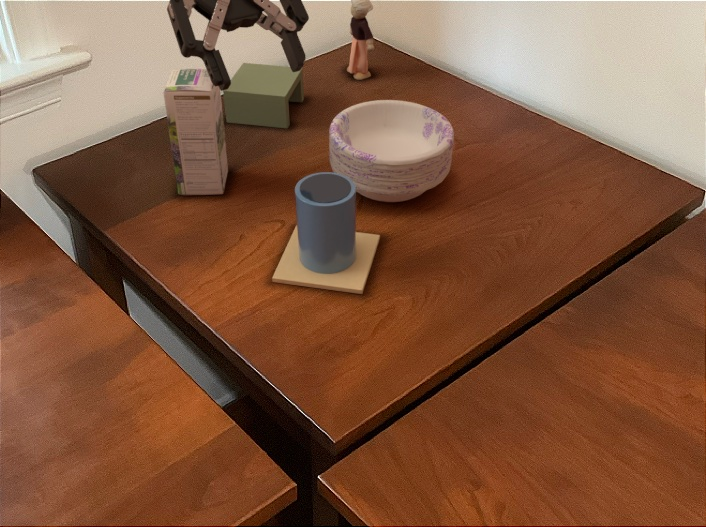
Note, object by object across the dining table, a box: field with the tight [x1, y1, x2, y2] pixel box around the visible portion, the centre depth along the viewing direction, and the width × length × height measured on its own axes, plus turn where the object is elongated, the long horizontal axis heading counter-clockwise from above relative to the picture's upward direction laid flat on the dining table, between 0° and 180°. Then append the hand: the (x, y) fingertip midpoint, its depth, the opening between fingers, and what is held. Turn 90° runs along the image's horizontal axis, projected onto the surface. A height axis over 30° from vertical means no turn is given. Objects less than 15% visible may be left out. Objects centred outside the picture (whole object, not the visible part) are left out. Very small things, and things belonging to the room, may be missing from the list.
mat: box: [271, 224, 381, 295], centre depth 92 cm, size 10×10×1 cm
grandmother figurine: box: [346, 0, 375, 81], centre depth 124 cm, size 8×4×13 cm, turn 34°
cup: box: [294, 171, 357, 274], centre depth 89 cm, size 6×6×9 cm
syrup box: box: [163, 67, 229, 196], centre depth 100 cm, size 6×6×14 cm
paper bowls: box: [328, 99, 455, 203], centre depth 102 cm, size 15×15×8 cm
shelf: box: [222, 62, 305, 130], centre depth 117 cm, size 9×9×5 cm
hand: (263, 78), depth 87 cm, fingers open, 8 cm apart
